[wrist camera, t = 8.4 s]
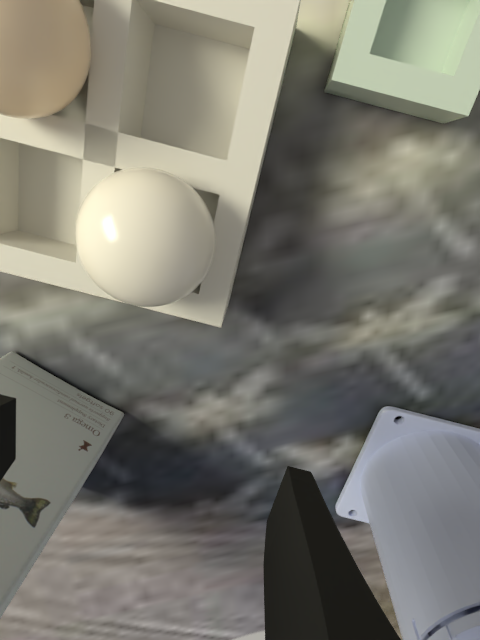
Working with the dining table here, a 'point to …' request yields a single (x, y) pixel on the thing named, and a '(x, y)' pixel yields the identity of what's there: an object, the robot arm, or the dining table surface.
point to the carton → (151, 132)
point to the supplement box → (44, 462)
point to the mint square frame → (410, 56)
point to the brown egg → (42, 56)
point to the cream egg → (145, 237)
